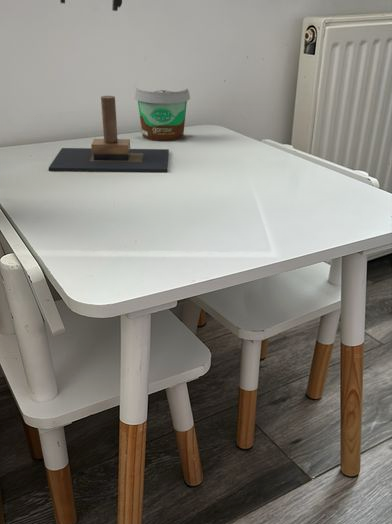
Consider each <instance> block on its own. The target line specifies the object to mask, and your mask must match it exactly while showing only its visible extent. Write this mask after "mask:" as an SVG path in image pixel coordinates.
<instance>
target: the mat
mask: <svg viewBox="0 0 392 524" xmlns="http://www.w3.org/2000/svg"><path fill="white" fill-rule="evenodd" d="M129 153H130V155H129V158H128V161H127V160H94V157H93V154H92V147H91V148H90V147H89V148H88V147H83V148H82V147H62V148H61V149H60V150H59V152H58V153H57V154H56V156H55V158H54V159H53V161H51V163H50V164H49V166H48V168H47V169H48V171H49V172H103V173H104V172H108V173H109V172H110V173H112V172H113V173H114V172H115V173H117V172H118V173H168V168H169V157H170V155H169V154H170V150H169V149H168V148H130V151H129Z"/></svg>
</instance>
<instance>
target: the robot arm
mask: <svg viewBox="0 0 392 524" xmlns="http://www.w3.org/2000/svg"><path fill="white" fill-rule="evenodd" d="M60 4H66V0H60ZM122 4H123V0H112V4H111V5H112V6H111V7H112V8H111V9H112V11H113V12H117V11H118V10H119V8H121V7H122Z"/></svg>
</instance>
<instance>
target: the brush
mask: <svg viewBox="0 0 392 524" xmlns="http://www.w3.org/2000/svg"><path fill="white" fill-rule="evenodd" d="M100 106H101V118H102V120H101V121H102V133H103V138H93V141H92V143H90V144H91V145H90V147H91V148H92V154H93V157H94V160H127V161H128V158H129V155H130V153H129V151H130V149H131V139H130V138H118V123H117V107H116V96H114V95H102V96H100Z"/></svg>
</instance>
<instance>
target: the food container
mask: <svg viewBox="0 0 392 524" xmlns="http://www.w3.org/2000/svg"><path fill="white" fill-rule="evenodd" d="M190 95H191V94H190V91H189V87H186V88H185V89H184V90H179V91H172V90H171V91H170V90H164V89H163V90H162V89H161V90H156V91H147V90H142V89H138V88H136V91H134V100H136V101H137V107H138V114H139V122H140V128H141V134H142V137H143V138H144V139H146V140H150V141H155V142H172V141H177V140H181V139H183V137H184V134H185V133H184V132H185V124H186V113H187V105H188V103H187V102H188V101H190V100H191V96H190Z"/></svg>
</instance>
